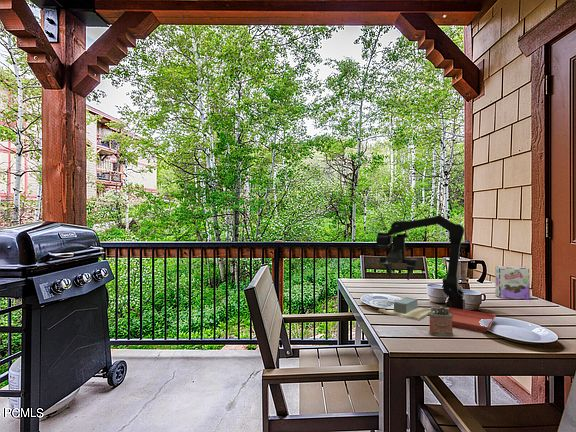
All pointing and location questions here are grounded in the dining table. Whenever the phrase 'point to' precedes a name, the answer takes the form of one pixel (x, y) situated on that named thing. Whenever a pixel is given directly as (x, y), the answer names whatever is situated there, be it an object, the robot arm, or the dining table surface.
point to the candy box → (512, 282)
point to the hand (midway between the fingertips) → (399, 278)
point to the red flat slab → (469, 319)
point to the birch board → (410, 313)
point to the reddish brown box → (440, 322)
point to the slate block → (405, 305)
